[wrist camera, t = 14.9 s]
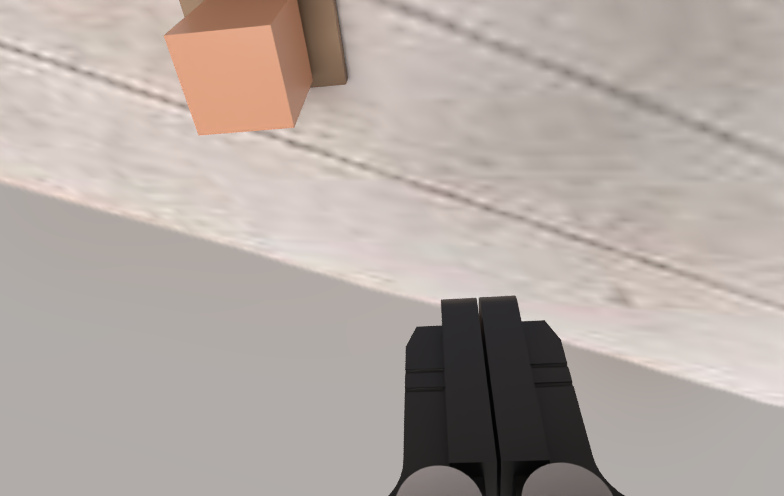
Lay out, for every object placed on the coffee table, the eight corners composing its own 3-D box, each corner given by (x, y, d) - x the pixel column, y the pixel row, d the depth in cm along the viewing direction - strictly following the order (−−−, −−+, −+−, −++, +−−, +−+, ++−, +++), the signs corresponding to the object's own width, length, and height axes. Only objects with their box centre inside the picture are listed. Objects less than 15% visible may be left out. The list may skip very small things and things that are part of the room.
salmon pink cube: (205, -1, 31) (163, 35, 26) (295, -10, 31) (270, 25, 26) (231, 87, 35) (198, 135, 29) (312, 80, 34) (294, 127, 29)
